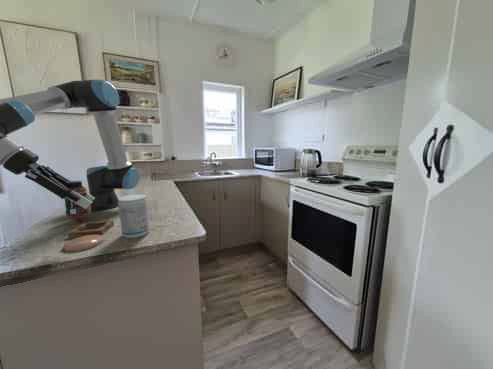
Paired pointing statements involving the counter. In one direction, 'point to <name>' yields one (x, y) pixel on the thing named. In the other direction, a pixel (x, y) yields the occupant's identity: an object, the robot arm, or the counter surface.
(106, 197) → the robot arm
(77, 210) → the supplement bottle
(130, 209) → the supplement tub
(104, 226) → the holder
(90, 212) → the decorative fruit
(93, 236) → the peach dome coaster
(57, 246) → the counter surface
